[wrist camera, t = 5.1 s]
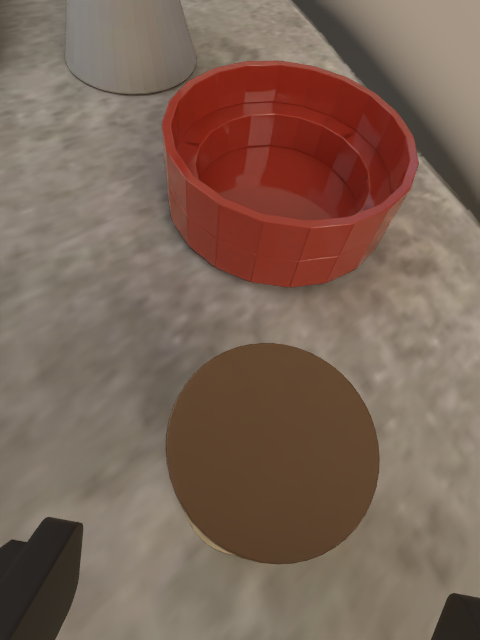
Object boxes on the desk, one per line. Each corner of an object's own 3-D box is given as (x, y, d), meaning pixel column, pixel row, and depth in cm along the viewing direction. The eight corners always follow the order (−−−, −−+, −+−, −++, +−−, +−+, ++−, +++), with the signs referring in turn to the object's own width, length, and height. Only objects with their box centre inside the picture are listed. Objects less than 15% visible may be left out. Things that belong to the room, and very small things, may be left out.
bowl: (126, 237, 24) (110, 161, 20) (224, 115, 31) (229, 37, 26) (345, 328, 22) (385, 269, 18) (398, 178, 29) (437, 106, 25)
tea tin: (156, 521, 17) (122, 496, 9) (212, 408, 20) (222, 314, 12) (274, 582, 16) (346, 612, 8) (316, 457, 19) (400, 391, 11)
